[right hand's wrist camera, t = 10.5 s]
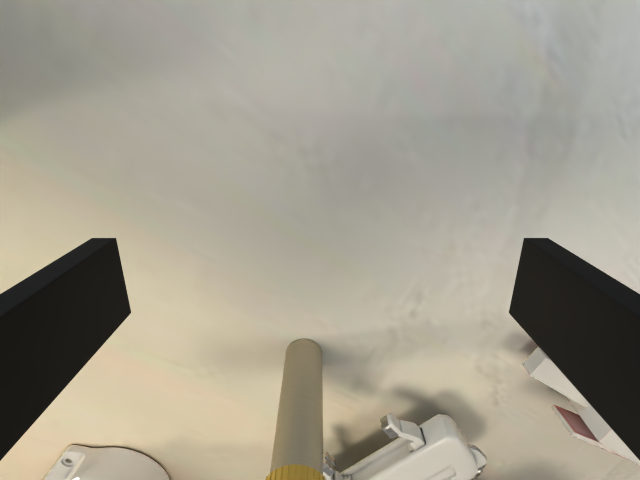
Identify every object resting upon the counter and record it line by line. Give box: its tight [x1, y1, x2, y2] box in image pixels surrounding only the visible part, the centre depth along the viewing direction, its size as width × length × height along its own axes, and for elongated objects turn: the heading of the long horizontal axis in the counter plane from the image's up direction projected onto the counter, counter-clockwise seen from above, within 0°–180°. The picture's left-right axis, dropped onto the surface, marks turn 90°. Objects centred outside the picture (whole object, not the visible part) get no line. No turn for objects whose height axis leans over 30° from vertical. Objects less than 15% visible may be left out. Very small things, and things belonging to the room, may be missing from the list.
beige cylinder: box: [270, 339, 323, 475], centre depth 38 cm, size 4×4×18 cm
